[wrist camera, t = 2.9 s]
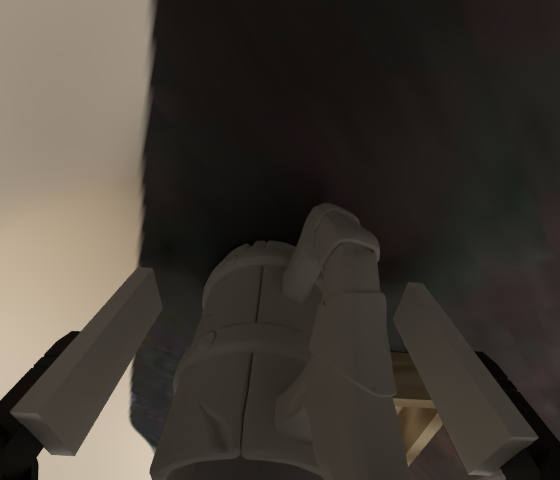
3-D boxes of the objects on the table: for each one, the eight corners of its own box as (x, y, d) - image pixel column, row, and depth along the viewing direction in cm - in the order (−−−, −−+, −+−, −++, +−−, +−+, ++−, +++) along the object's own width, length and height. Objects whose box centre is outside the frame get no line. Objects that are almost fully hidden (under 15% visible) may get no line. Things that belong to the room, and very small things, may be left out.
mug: (197, 304, 17) (61, 618, 7) (264, 143, 12) (83, 506, 1) (294, 337, 19) (303, 634, 8) (393, 208, 13) (787, 615, 3)
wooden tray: (244, 343, 19) (232, 415, 15) (433, 354, 19) (476, 428, 15) (247, 439, 28) (240, 502, 23) (378, 446, 28) (395, 510, 24)
